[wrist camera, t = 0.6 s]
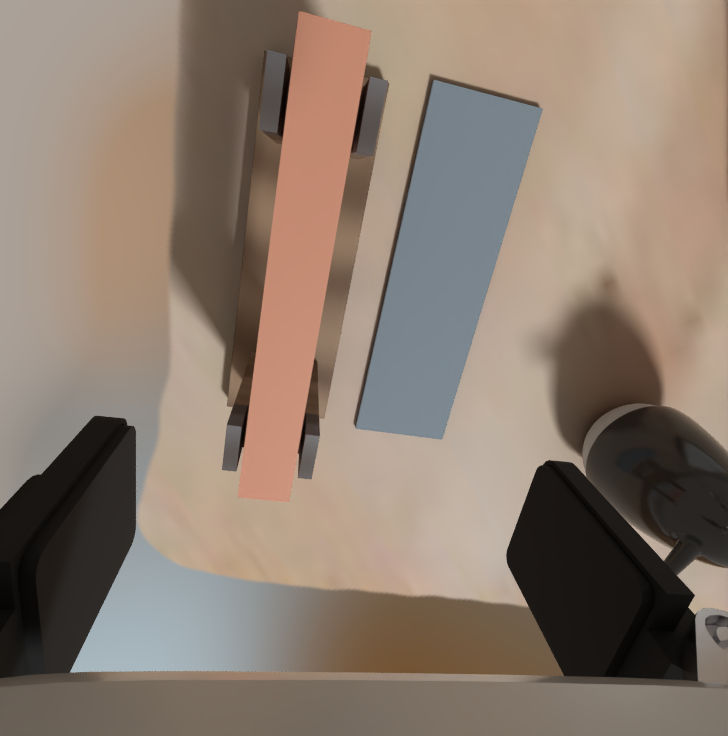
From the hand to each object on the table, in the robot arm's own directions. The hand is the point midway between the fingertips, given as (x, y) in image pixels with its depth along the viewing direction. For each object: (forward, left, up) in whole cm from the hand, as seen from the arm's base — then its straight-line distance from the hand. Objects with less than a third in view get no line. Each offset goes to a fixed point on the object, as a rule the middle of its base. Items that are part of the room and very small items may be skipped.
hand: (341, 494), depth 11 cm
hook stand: (0, -2, -27) cm, 27 cm away
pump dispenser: (+11, +30, -27) cm, 42 cm away
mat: (0, +9, -27) cm, 29 cm away
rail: (0, -2, -17) cm, 17 cm away
